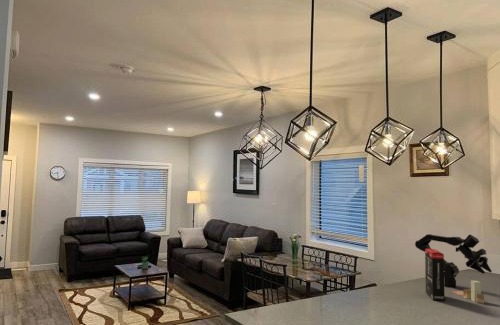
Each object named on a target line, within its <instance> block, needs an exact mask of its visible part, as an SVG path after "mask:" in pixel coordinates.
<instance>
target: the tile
mask: <svg viewBox="0 0 500 325" xmlns="http://www.w3.org/2000/svg"><path fill="white" fill-rule="evenodd" d="M451 292H452V293H454V294H456V295H458V296H462V295H464V292H463V290H461V291H459V290H451Z"/></svg>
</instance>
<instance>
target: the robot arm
mask: <svg viewBox="0 0 500 325" xmlns="http://www.w3.org/2000/svg"><path fill="white" fill-rule="evenodd" d="M432 241H433V242H440V243H446V244H448V245H451V246H453V247H455V246H456V247H455V252H458V253H459V252H460V253H461V254H462V255H463V256H464V258H465V259H467V261H466V262H465V265H466V267H467V268H470V269H473V270H475V271H477V272H479V273H481V274H484V275H485V273H486V272H485V271H487V272H489V273H492V272H493V271H492V269H491V268H490V266H489V264H488V261H489V258H488V257H487V256H485V255H487V250H486V249H484V248H480V249H478V250H477V251H475V250H472V249H474V248H475V246H477V245H478V244H480V240H479V239H478V237H476V236H474V235H472V234H468V235H467V236H466V237H465V239H464V238H461V237H460V236H442V235H436V234H431V233H429V234H428V233H427V234H425V235H424V236H423V237H421V238H420V239H419V240H416V241H415V243H414V246H415V248H416V249H418V250H420V251H421V252H424V253H425V248H426V249H432V248H431V246H430V244H431V242H432ZM459 273H460V269H459V267H458V265H456V264H455V263H454V262H453V261H452V262H450V261H447V260H446V259H444V288H445V287H447V288H454V289H455V288H456V287H457V280H456V278H457V276H458V275H459Z"/></svg>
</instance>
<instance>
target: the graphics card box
mask: <svg viewBox="0 0 500 325" xmlns="http://www.w3.org/2000/svg"><path fill="white" fill-rule="evenodd" d="M444 255H445V254H444V253H442V252H441V251H439V250H437V249H435V248H434V249H433V248H431V249H426V248H425V252H424V262H425V264H424V265H425V269H424V272H425V273H424V274H425V275H424V276H425V293H426V294H427V296H429V298H430V299H431V300H432V301H437V302H445V300H446V299H445V286H444V260H445V256H444Z"/></svg>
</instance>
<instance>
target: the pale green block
mask: <svg viewBox="0 0 500 325" xmlns="http://www.w3.org/2000/svg"><path fill="white" fill-rule="evenodd" d="M481 283H482V281H481V282H480V281H478V280H470V289H471V299H470V300H471V301H473V302H475V303H476V293H479V294H482V284H481Z"/></svg>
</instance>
